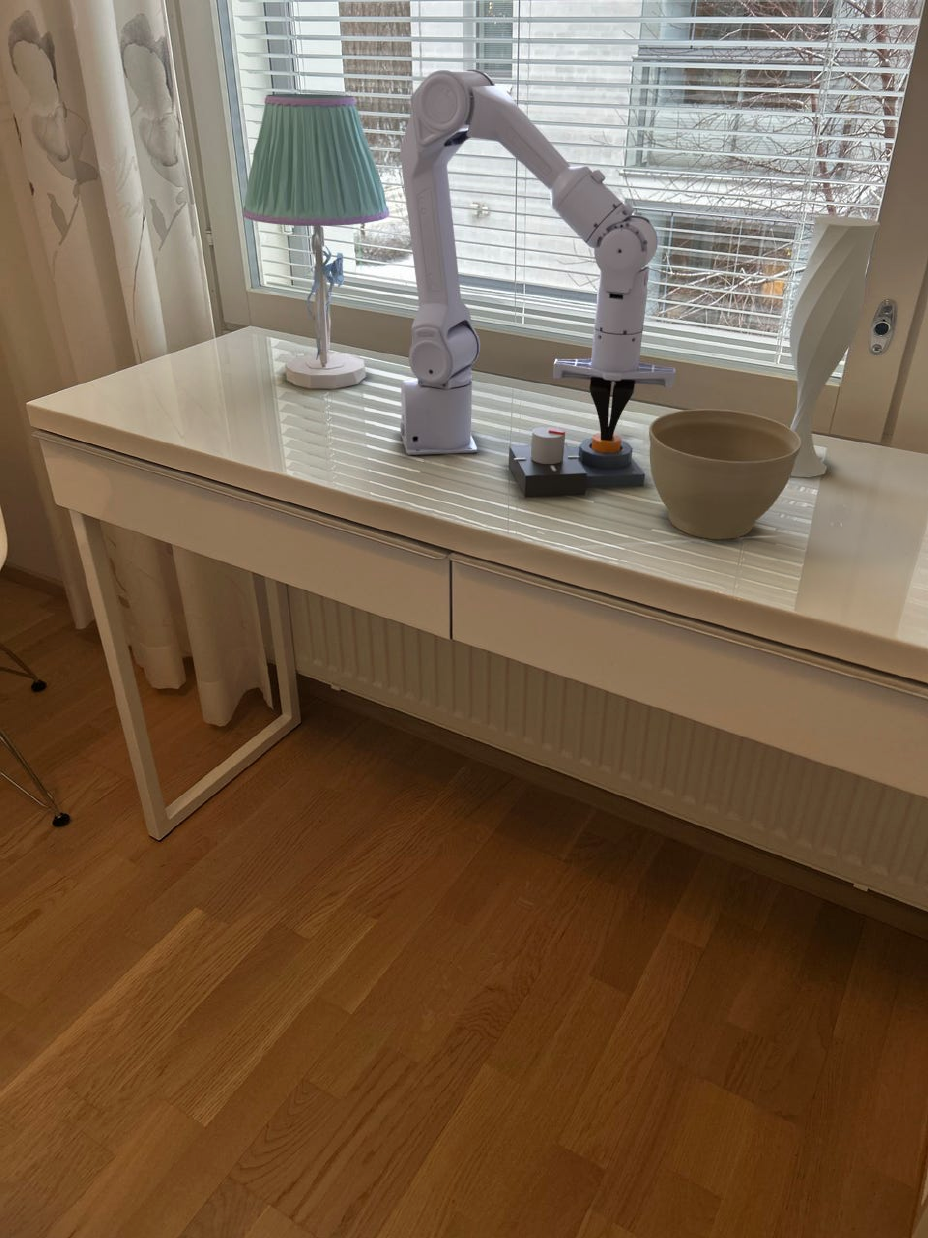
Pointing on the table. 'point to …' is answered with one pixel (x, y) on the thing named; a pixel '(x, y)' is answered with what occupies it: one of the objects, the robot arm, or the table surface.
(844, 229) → the vase
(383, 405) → the table surface
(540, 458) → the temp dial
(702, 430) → the planter bowl
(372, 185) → the table lamp
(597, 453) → the button base
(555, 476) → the dial panel
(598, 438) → the button
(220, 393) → the table surface
